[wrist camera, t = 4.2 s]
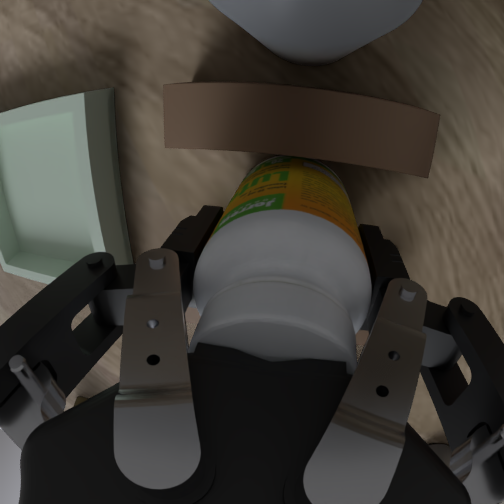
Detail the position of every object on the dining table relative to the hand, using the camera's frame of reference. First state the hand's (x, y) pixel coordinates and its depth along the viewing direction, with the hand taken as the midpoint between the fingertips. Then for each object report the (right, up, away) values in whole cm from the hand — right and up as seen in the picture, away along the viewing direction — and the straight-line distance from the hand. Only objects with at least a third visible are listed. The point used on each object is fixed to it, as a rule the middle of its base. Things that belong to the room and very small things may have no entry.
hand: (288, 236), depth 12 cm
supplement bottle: (+1, +2, +3) cm, 3 cm away
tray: (-14, +3, +4) cm, 15 cm away
